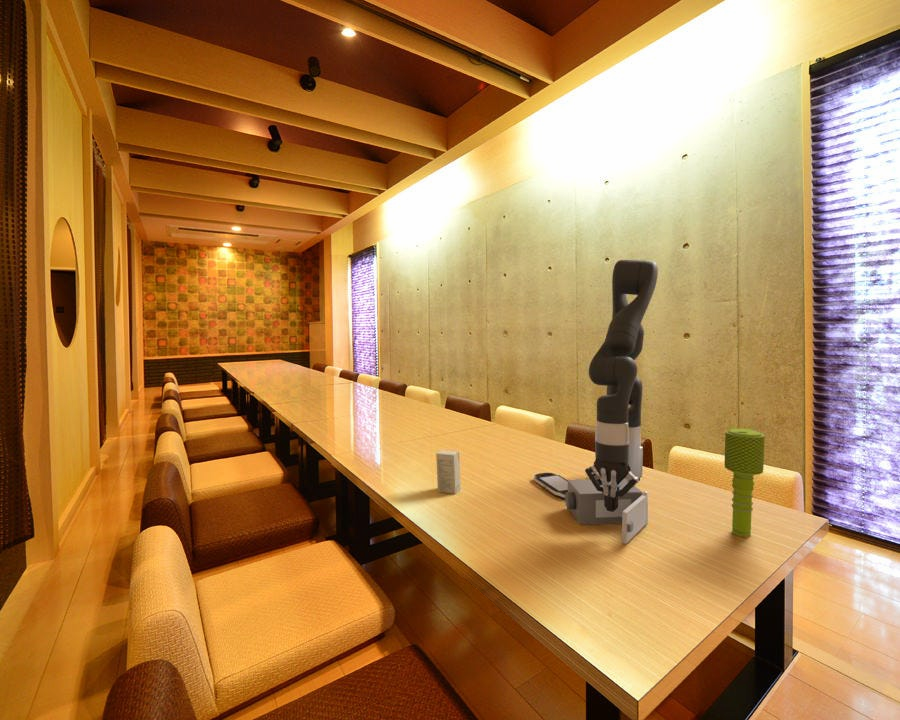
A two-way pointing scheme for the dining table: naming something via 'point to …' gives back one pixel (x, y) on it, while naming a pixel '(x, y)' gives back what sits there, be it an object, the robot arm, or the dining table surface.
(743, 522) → the green knurled bolt
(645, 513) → the side door
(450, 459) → the skincare box
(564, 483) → the gaming console
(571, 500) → the box
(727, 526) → the dining table surface
